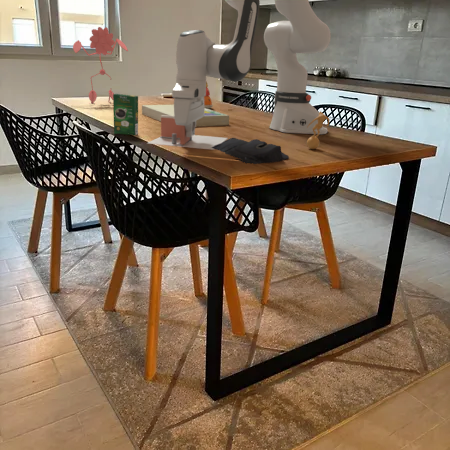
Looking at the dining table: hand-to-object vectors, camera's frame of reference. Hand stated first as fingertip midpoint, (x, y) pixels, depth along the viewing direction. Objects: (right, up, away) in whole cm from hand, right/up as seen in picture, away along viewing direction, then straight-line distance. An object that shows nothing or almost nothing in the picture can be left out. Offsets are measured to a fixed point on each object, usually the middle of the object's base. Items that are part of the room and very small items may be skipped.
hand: (190, 136), depth 141 cm
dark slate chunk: (+18, -7, -6) cm, 20 cm away
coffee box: (-22, +3, +13) cm, 26 cm away
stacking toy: (-3, +30, +87) cm, 92 cm away
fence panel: (-2, -1, +2) cm, 3 cm away
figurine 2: (+39, -4, +5) cm, 39 cm away
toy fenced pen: (-1, -1, +7) cm, 7 cm away
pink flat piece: (-5, +1, +8) cm, 10 cm away
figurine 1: (-48, +32, +86) cm, 104 cm away
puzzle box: (-7, +16, +51) cm, 54 cm away
